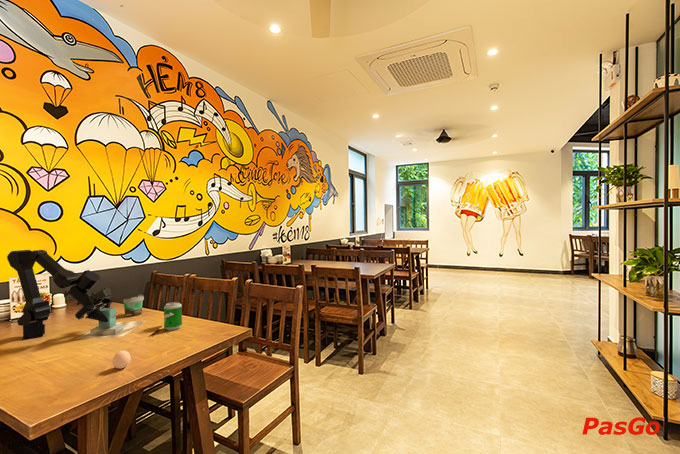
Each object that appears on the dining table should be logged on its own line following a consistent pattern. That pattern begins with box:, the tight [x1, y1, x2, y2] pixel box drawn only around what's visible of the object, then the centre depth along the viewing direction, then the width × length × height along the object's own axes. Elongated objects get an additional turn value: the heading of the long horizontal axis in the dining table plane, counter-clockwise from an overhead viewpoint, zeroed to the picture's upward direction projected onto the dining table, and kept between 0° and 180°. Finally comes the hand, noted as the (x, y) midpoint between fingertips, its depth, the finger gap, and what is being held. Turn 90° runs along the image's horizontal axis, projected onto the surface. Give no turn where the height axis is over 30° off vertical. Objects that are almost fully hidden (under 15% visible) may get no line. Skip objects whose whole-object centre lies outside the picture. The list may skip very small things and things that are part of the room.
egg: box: [112, 350, 131, 370], centre depth 106 cm, size 5×5×6 cm
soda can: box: [163, 301, 183, 332], centre depth 147 cm, size 8×8×12 cm
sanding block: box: [89, 307, 124, 336], centre depth 138 cm, size 10×6×10 cm, turn 98°
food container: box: [122, 294, 145, 318], centre depth 171 cm, size 12×6×10 cm, turn 179°
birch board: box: [76, 320, 147, 340], centre depth 143 cm, size 18×22×2 cm
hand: (110, 320), depth 138 cm, fingers closed on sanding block, 4 cm apart
